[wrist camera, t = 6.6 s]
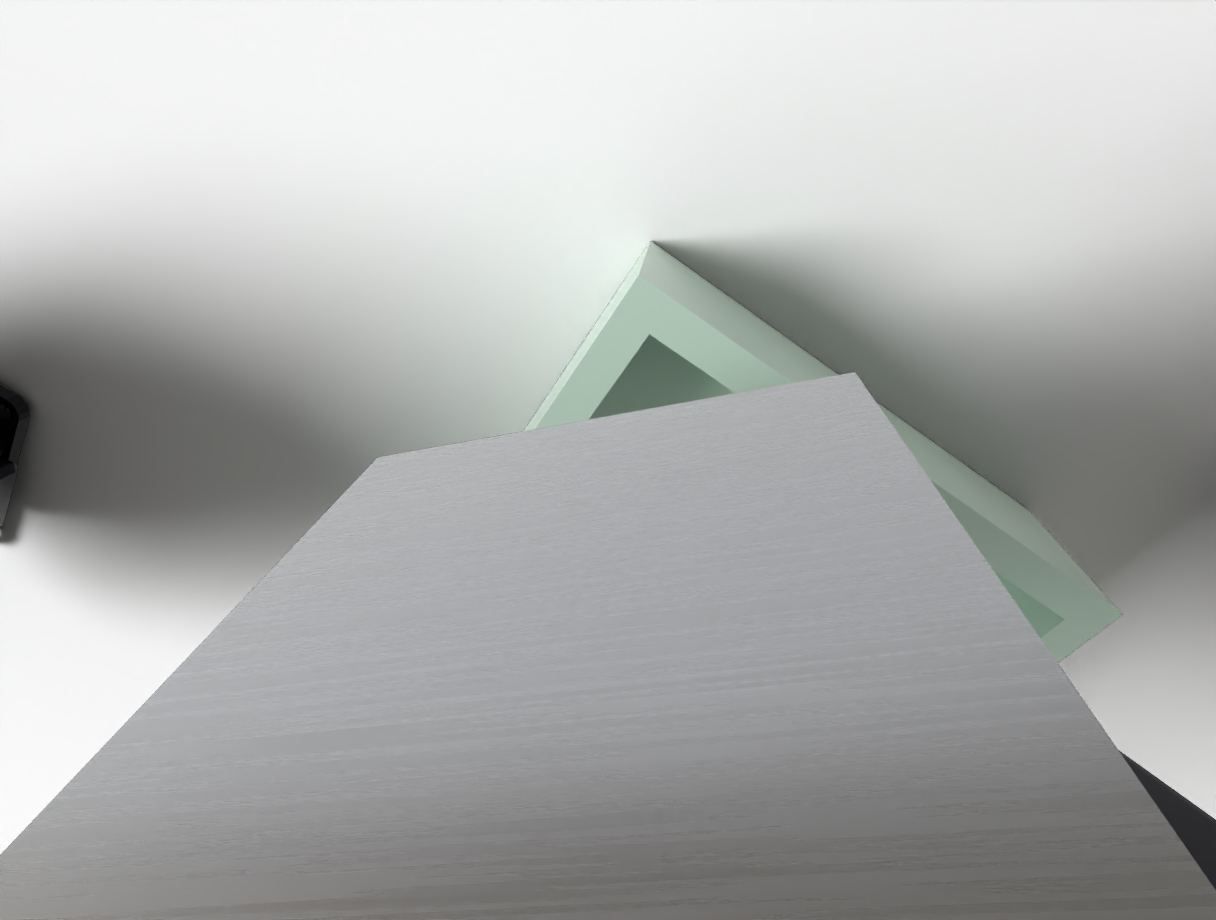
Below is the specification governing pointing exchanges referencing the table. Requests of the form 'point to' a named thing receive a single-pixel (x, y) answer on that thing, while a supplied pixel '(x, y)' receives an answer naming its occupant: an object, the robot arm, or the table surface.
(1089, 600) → the tote
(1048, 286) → the table surface
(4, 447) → the robot arm
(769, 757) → the tin
